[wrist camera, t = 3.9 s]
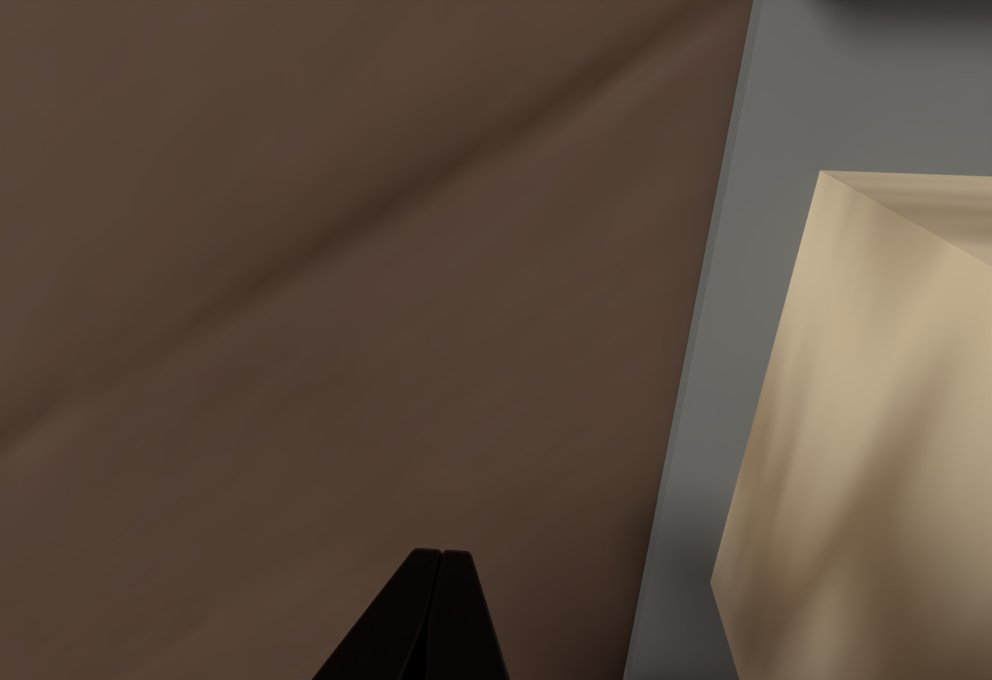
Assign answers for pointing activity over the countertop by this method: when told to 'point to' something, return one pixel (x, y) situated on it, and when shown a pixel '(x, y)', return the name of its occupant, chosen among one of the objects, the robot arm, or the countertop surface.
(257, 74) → the countertop surface
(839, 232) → the wooden block
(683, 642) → the mat
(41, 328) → the countertop surface
